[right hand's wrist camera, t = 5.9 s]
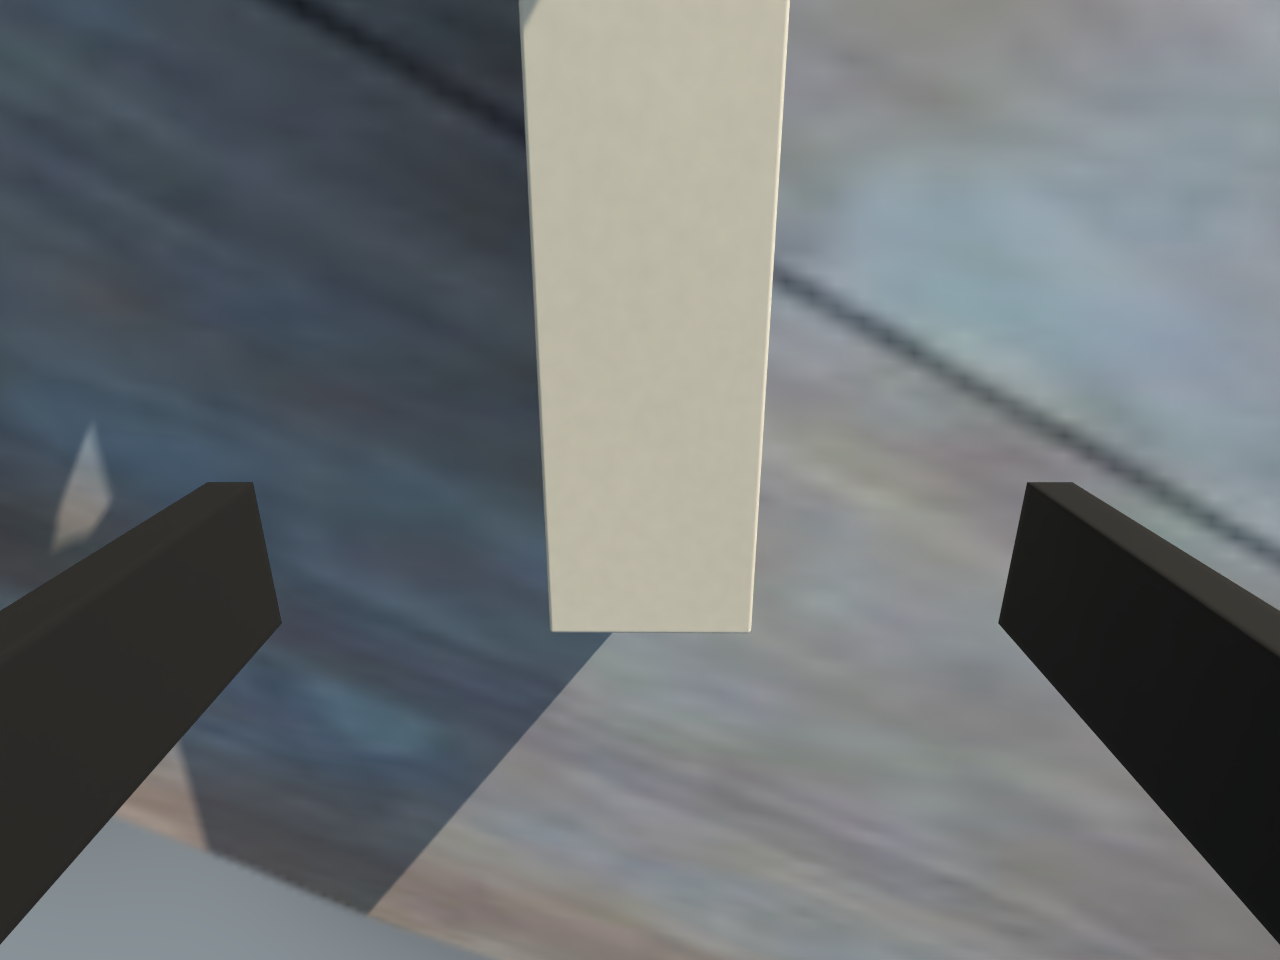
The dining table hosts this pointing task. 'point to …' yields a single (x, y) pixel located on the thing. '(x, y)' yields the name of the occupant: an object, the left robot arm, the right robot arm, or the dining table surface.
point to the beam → (652, 300)
